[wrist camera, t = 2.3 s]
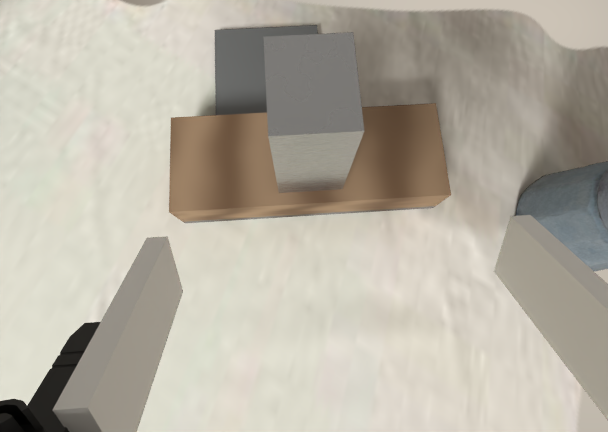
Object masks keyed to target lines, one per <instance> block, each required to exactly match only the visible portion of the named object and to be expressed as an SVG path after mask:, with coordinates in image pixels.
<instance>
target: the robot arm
mask: <svg viewBox="0 0 608 432" xmlns="http://www.w3.org/2000/svg"><path fill="white" fill-rule="evenodd" d="M494 272H495V273H496V275H497V276H498V277H499V279H500V280H501V281H502V282H503V284H504V285H505V286H506V288H507V289H508V290H509V292H510V293H511V294H512V296H513V297H514V298H515V300H516V301H517V302H518V303H519V305H520V306H521V307H522V309H523V310H524V311H525V313H526V314H527V315H528V317H529V318H530V319H531V320H532V322H533V323H534V324H535V326H536V327H537V328H538V330H539V331H540V332H541V334H542V335H543V336H544V338H545V339H546V340H547V341H548V343H549V344H550V345H551V347H552V348H553V349H554V351H555V352H556V353H557V355H558V356H559V357H560V358H561V360H562V361H563V362H564V364H565V365H566V366H567V368H568V369H569V370H570V372H571V373H572V374H573V376H574V377H575V378H576V379H577V381H578V382H579V383H580V385H581V386H582V387H583V389H584V390H585V391H586V392H587V394H588V395H589V396H590V398H591V399H592V400H593V402H594V403H595V404H596V406H597V407H598V408H599V410H600V411H601V412H602V414H603V415H604V416H605V417H606V419H607V420H608V284H607V283H606V282H605V281H604V280H603V279H602V278H601V277H599V276H598V275H597V274H596V273H595V272H594V271H593V270H592V269H590V268H589V267H588V266H587V265H586V264H585V263H584V262H583V261H582V260H580V259H579V258H578V257H577V256H576V255H575V254H574V253H573V252H571V251H570V250H569V249H568V248H567V247H566V246H565V245H564V244H562V243H561V242H560V241H559V240H558V239H557V238H556V237H555V236H553V235H552V234H551V233H550V232H549V231H548V230H547V229H546V228H545V227H543V226H542V225H541V224H540V223H539V222H538V221H537V220H536V219H534V218H533V217H532V216H531V215H521V216H511V217H510V221H509V224H508V227H507V231H506V234H505V237H504V240H503V244H502V247H501V250H500V253H499V257H498V260H497V263H496V267H495V270H494ZM182 293H183V290H182V286H181V282H180V279H179V275H178V272H177V268H176V265H175V261H174V258H173V254H172V251H171V247H170V244H169V240H168V237H153V238H147V239H146V241H145V242H144V244H143V246H142V248H141V250H140V251H139V253H138V255H137V257H136V259H135V261H134V262H133V264H132V266H131V268H130V270H129V272H128V273H127V275H126V277H125V279H124V281H123V282H122V284H121V286H120V288H119V290H118V292H117V293H116V295H115V297H114V299H113V301H112V302H111V304H110V306H109V308H108V310H107V312H106V313H105V315H104V317H103V319H102V321H101V322H94V323H84V324H83V325H82V326H81V327H80V328H79V329H78V330H77V331H76V332H75V333H74V334H72V335H71V336H70V337H69V339H68V341H67V342H66V344H65V346H64V347H63V349H62V350H61V352H60V356H58V357H57V359H56V360H55V362H54V363H53V365H52V369H50V370H49V372H48V373H47V375H46V376H45V378H44V380H43V381H42V383H41V385H40V386H39V388H38V389H37V391H36V393H35V394H34V396H33V398H32V399H31V401H30V402H29V404H28V406H27V405H26V404H25V403H24V402H23V401H21V400H17V399H10V400H4V401H0V432H137V429H138V426H139V423H140V420H141V417H142V414H143V411H144V408H145V405H146V402H147V399H148V395H149V392H150V389H151V386H152V383H153V380H154V377H155V374H156V371H157V368H158V365H159V362H160V359H161V356H162V353H163V350H164V347H165V344H166V341H167V338H168V335H169V332H170V329H171V326H172V323H173V320H174V317H175V314H176V311H177V308H178V305H179V302H180V299H181V296H182Z"/></svg>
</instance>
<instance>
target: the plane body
mask: <svg viewBox="0 0 608 432" xmlns="http://www.w3.org/2000/svg"><path fill="white" fill-rule="evenodd" d="M362 114H363V123H364V133H363V136H362V139H361V141H360V144H359V147H358V149H357V152H356V155H355V157H354V160H353V163H352V165H351V168H350V170H349V173H348V176H347V178H346V181H345V184H344V186H343V189H338V190H322V191H305V192H289V193H279V191H278V186H277V180H276V175H275V170H274V164H273V159H272V154H271V149H270V143H269V138H268V121H267V113H249V114H231V115H212V116H194V117H175V118H171V144H170V196H169V212H170V213H171V214H173V215H174V216H175V217H177V218H178V219H180V220H181V221H183V222H184V223H196V222H212V221H228V220H244V219H260V218H277V217H293V216H309V215H325V214H341V213H357V212H373V211H389V210H405V209H422V208H433V207H435V206H436V205H438V204H439V203H440V202H442V201H443V200H445V199H446V198H447V197H449V196H450V195H451V191H450V185H449V179H448V173H447V167H446V161H445V155H444V149H443V143H442V137H441V131H440V125H439V119H438V113H437V107H436V103H434V104H415V105H397V106H378V107H362Z"/></svg>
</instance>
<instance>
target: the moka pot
mask: <svg viewBox="0 0 608 432" xmlns="http://www.w3.org/2000/svg"><path fill="white" fill-rule="evenodd" d="M521 215H531V216H532V217H533V218H534V219H536V220H537V221H538V222H539V223H540V224H541V225H542V226H543V227H545V228H546V229H547V230H548V231H549V232H550V233H551V234H552V235H553V236H555V237H556V238H557V239H558V240H559V241H560V242H561V243H562V244H564V245H565V246H566V247H567V248H568V249H569V250H570V251H571V252H573V253H574V254H575V255H576V256H577V257H578V258H579V259H580V260H582V261H583V262H584V263H585V264H586V265H587V266H588V267H589V268H590V269H592V270H593V271H599V270H604V269H608V161H606V162H602V163H596V164H592V165H589V166H585V167H582V168H576V169H571V170H567V171H562V172H558V173H553V174H549V175H545V176H543V177H541V178H540V179H538V180H537V181H535V182H534V183H533V184H531V185H530V186H529V187H528V188H527V189H526V190H525V191H524V192H523V193H522V195H521V197H520V199H519V203H518V207H517V212H516V216H521Z"/></svg>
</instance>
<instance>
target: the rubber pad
mask: <svg viewBox="0 0 608 432" xmlns="http://www.w3.org/2000/svg"><path fill="white" fill-rule="evenodd" d="M309 34H318V33H317V25H309V26H288V27H267V28H246V29H225V30H215V84H216V115H231V114H249V113H267V100H266V79H265V58H264V37H268V36H289V35H309Z"/></svg>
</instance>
